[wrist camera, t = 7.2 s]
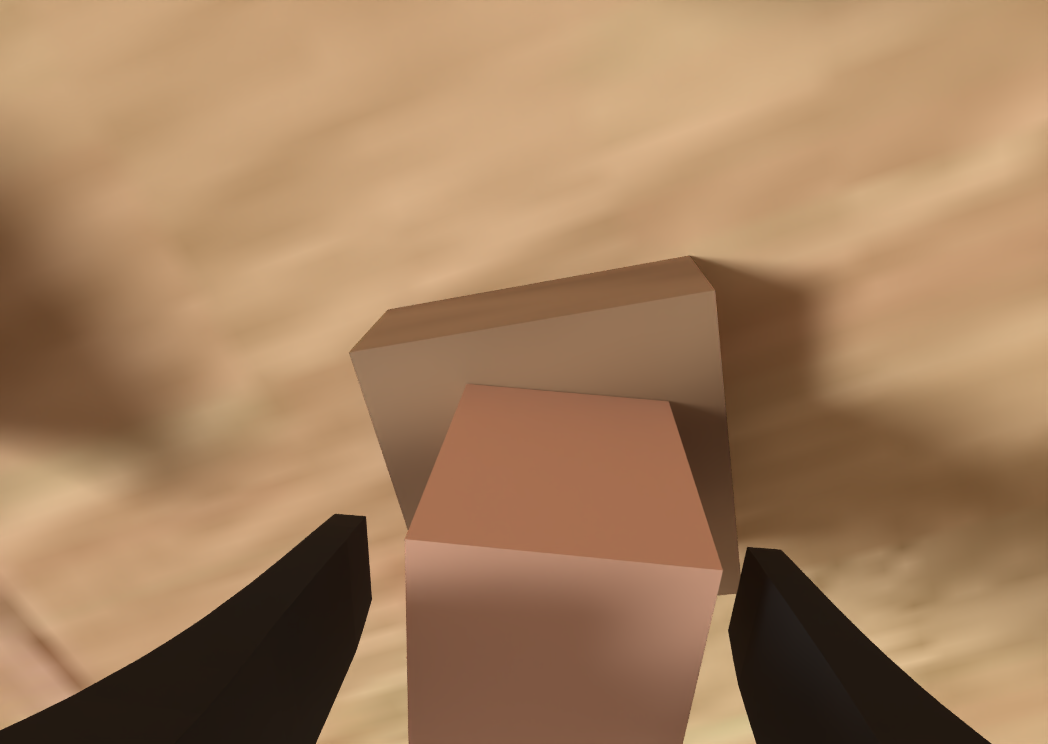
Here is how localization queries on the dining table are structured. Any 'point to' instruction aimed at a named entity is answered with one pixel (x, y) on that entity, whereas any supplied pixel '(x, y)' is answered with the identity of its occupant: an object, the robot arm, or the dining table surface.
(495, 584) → the terracotta block
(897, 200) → the dining table surface
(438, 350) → the walnut slab
